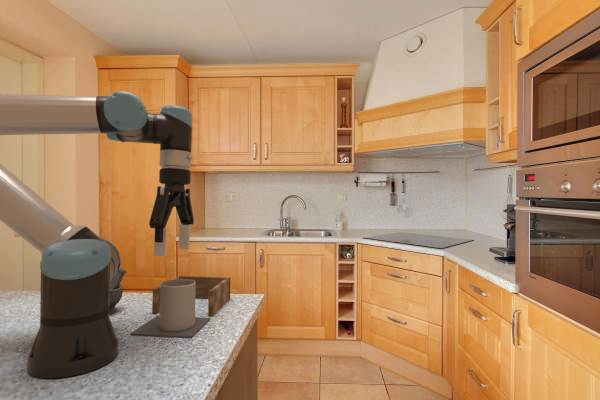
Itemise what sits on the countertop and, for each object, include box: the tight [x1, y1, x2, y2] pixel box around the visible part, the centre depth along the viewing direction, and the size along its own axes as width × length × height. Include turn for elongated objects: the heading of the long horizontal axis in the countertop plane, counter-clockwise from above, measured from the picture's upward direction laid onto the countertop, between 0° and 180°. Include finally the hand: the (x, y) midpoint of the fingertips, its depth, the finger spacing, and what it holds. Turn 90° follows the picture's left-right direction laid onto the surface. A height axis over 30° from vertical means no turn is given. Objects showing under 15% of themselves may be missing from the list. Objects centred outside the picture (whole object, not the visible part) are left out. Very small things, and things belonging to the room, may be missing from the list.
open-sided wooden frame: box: [151, 275, 231, 317], centre depth 107 cm, size 18×17×7 cm
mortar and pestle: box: [109, 267, 127, 315], centre depth 100 cm, size 11×9×12 cm
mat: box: [129, 315, 211, 339], centre depth 89 cm, size 13×15×1 cm
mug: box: [159, 278, 196, 332], centre depth 90 cm, size 12×8×11 cm
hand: (173, 252), depth 89 cm, fingers open, 13 cm apart
